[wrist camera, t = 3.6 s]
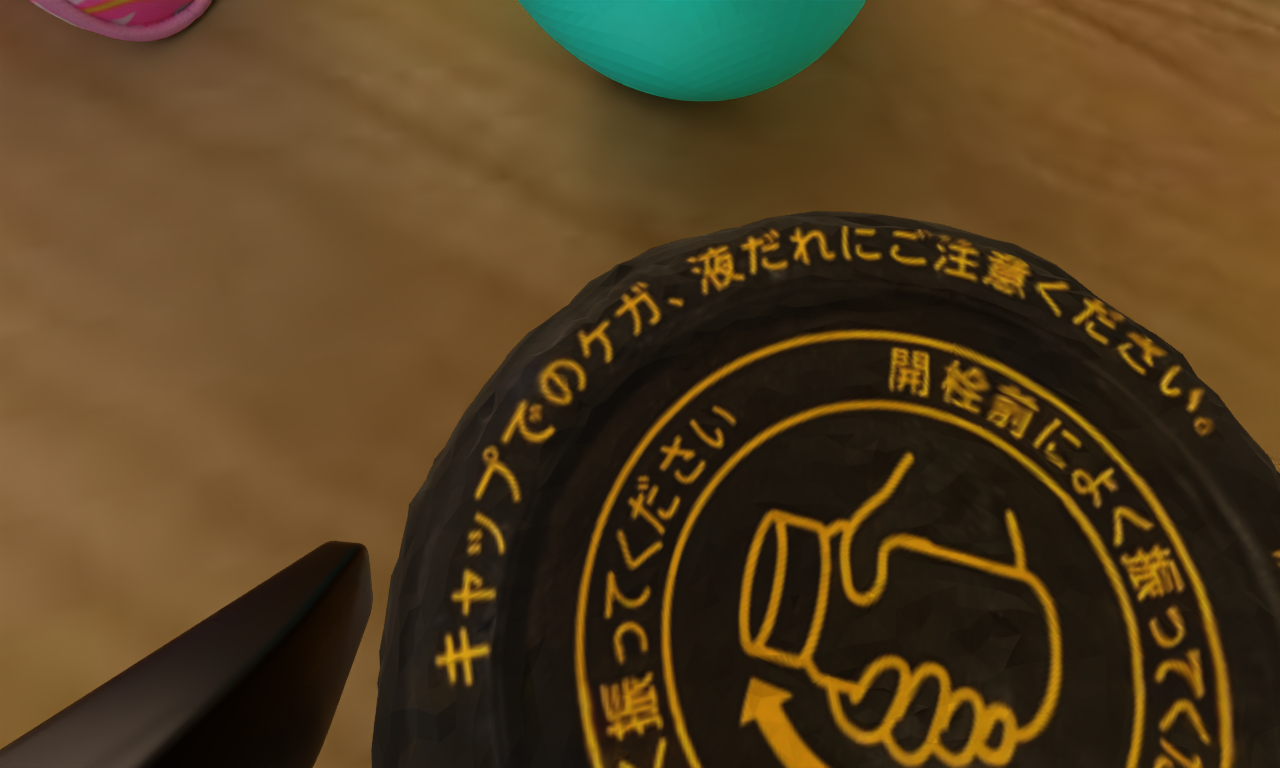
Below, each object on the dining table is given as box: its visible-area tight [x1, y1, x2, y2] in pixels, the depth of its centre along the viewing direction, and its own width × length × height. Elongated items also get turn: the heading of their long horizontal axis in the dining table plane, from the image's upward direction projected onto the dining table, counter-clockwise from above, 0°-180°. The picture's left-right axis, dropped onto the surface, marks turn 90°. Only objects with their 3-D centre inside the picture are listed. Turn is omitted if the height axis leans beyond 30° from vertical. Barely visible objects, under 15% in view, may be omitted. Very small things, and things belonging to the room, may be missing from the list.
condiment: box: [372, 211, 1280, 768], centre depth 8 cm, size 7×8×12 cm
